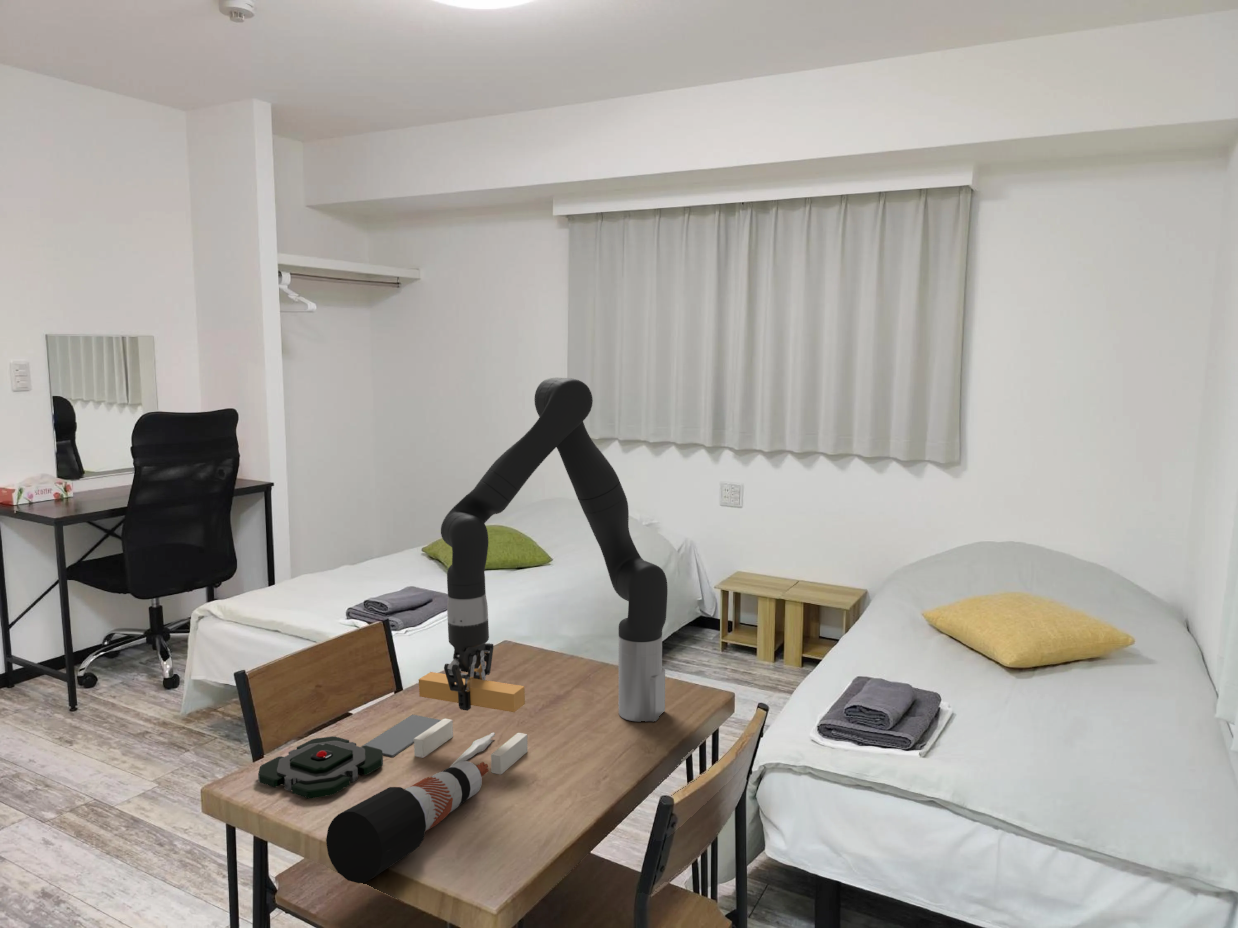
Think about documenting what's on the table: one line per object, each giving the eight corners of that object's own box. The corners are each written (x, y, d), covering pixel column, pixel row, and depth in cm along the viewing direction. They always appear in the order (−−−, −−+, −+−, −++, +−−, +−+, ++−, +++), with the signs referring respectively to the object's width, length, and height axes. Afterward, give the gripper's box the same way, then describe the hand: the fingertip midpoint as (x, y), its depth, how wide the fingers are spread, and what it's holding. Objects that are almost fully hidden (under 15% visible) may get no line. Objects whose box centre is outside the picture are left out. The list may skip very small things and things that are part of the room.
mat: (444, 722, 178) (444, 720, 178) (392, 756, 162) (392, 754, 162) (412, 716, 181) (412, 714, 181) (359, 749, 165) (359, 747, 165)
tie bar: (525, 703, 160) (524, 686, 160) (514, 712, 157) (513, 694, 156) (431, 688, 168) (430, 671, 168) (419, 696, 165) (418, 679, 164)
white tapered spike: (488, 738, 171) (488, 729, 171) (499, 740, 170) (499, 731, 169) (443, 770, 157) (443, 761, 157) (455, 773, 156) (455, 763, 156)
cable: (492, 808, 152) (517, 763, 150) (364, 897, 121) (392, 842, 119) (451, 772, 156) (474, 728, 154) (316, 851, 125) (343, 796, 123)
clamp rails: (527, 751, 164) (527, 734, 164) (500, 774, 155) (500, 756, 155) (444, 734, 172) (444, 718, 171) (414, 755, 163) (413, 738, 162)
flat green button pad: (324, 745, 168) (323, 722, 168) (394, 764, 160) (393, 741, 159) (247, 785, 152) (246, 760, 152) (320, 809, 144) (319, 783, 144)
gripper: (463, 631, 152) (468, 722, 155) (504, 608, 165) (507, 693, 168) (428, 626, 155) (433, 716, 158) (471, 605, 168) (475, 688, 171)
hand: (471, 704), depth 163 cm, fingers closed on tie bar, 4 cm apart
